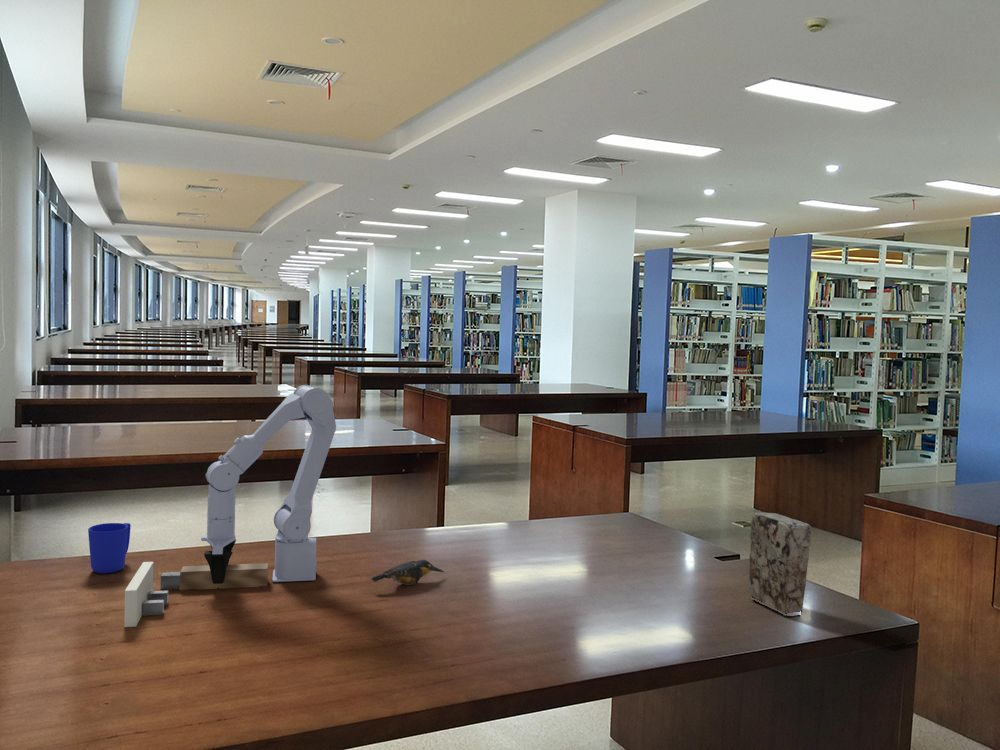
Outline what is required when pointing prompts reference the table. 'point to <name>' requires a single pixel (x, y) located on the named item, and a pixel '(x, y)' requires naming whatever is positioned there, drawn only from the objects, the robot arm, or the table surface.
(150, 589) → the post
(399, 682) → the table surface
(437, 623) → the table surface
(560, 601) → the table surface
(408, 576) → the bird model
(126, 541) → the mug
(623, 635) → the table surface
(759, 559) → the stone block
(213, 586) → the walnut rail
